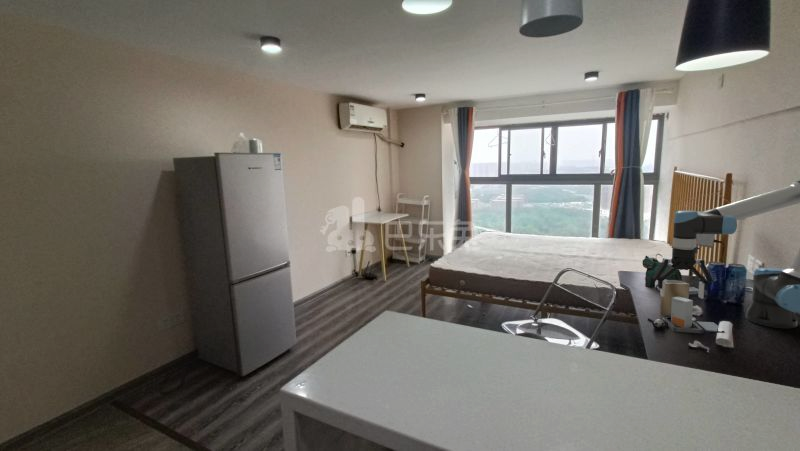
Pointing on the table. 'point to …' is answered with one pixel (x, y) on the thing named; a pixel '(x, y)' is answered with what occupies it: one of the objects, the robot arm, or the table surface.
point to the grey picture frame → (676, 329)
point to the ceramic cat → (653, 266)
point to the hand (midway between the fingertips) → (681, 296)
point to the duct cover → (673, 295)
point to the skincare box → (681, 312)
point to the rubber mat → (708, 326)
